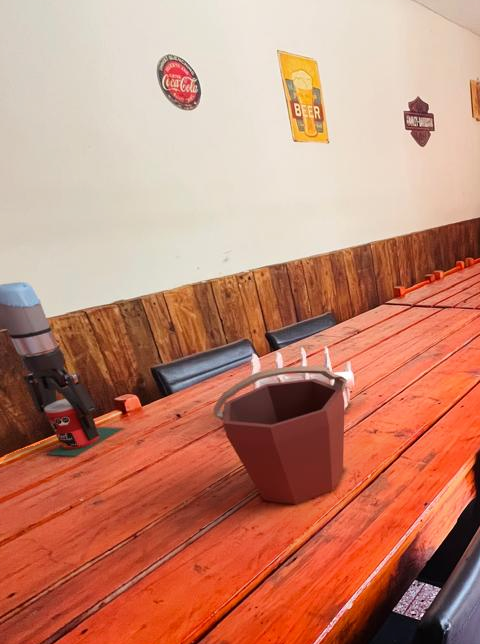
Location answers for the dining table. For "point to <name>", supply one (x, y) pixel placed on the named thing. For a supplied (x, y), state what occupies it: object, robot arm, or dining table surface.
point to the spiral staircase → (304, 376)
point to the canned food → (67, 425)
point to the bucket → (288, 433)
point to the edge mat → (102, 435)
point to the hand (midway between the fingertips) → (79, 437)
